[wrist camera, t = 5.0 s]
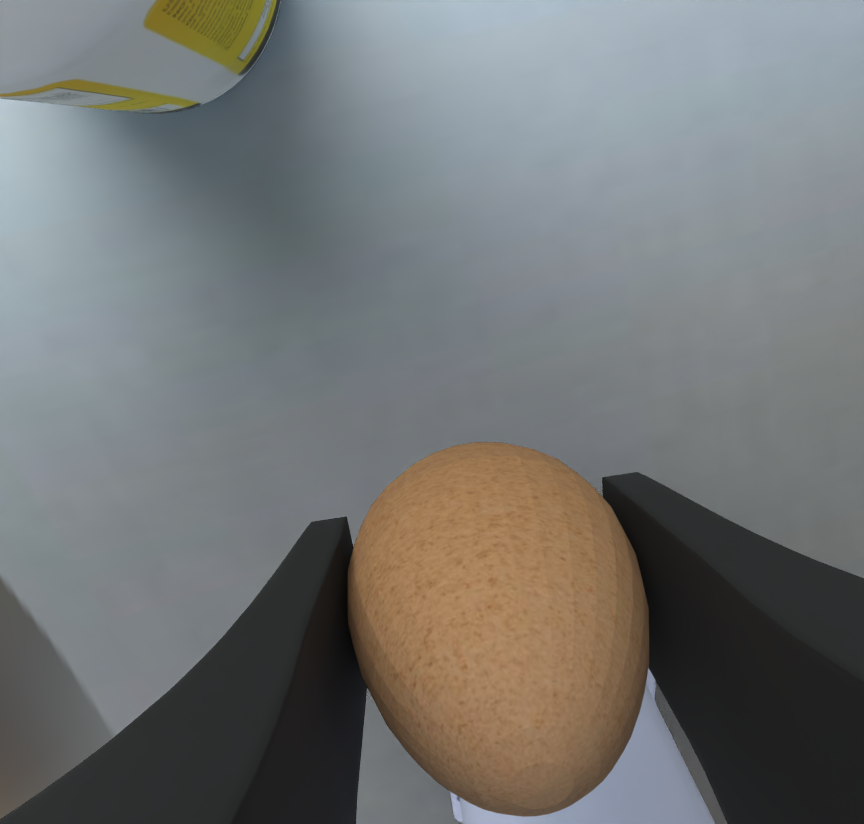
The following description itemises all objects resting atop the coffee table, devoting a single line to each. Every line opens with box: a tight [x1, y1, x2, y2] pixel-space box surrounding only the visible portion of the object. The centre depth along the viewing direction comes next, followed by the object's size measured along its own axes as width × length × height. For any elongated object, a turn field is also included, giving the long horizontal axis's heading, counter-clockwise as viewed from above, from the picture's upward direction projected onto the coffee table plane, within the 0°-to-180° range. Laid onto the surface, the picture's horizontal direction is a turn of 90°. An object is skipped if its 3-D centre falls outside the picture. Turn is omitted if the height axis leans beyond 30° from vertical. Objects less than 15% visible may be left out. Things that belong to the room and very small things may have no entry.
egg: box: [348, 442, 649, 817], centre depth 10 cm, size 4×4×6 cm
